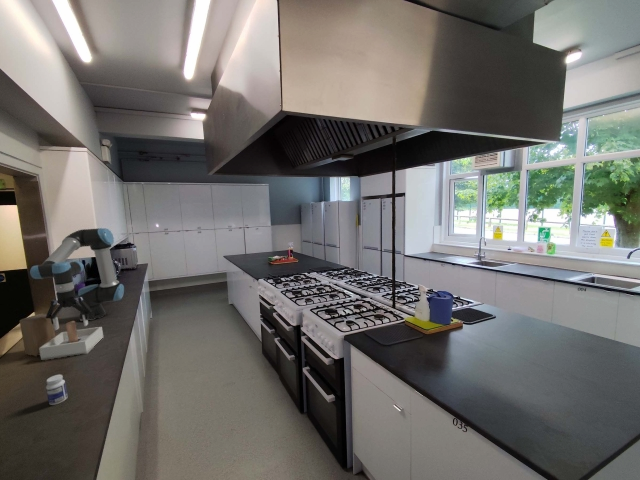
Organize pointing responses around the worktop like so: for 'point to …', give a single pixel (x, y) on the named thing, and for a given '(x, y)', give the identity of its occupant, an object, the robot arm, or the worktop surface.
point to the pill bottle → (56, 390)
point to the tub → (71, 344)
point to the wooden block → (36, 333)
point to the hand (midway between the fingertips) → (71, 327)
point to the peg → (71, 332)
